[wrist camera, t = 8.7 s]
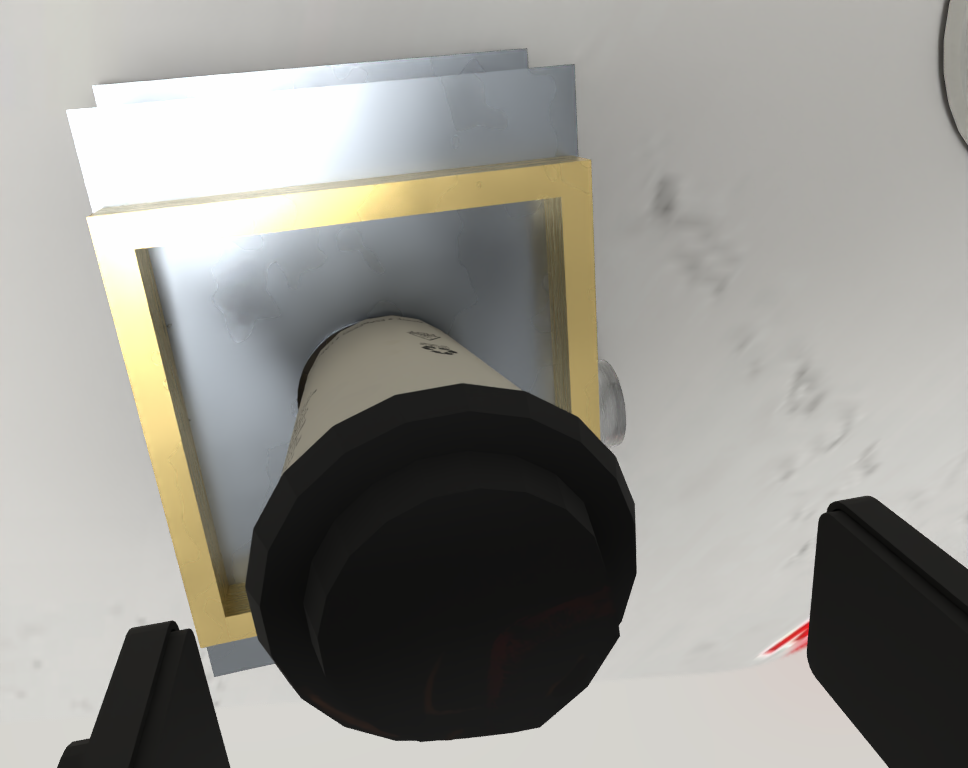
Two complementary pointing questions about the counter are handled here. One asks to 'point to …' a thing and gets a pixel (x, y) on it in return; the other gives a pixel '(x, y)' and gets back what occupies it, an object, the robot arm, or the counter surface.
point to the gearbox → (328, 264)
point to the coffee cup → (438, 543)
